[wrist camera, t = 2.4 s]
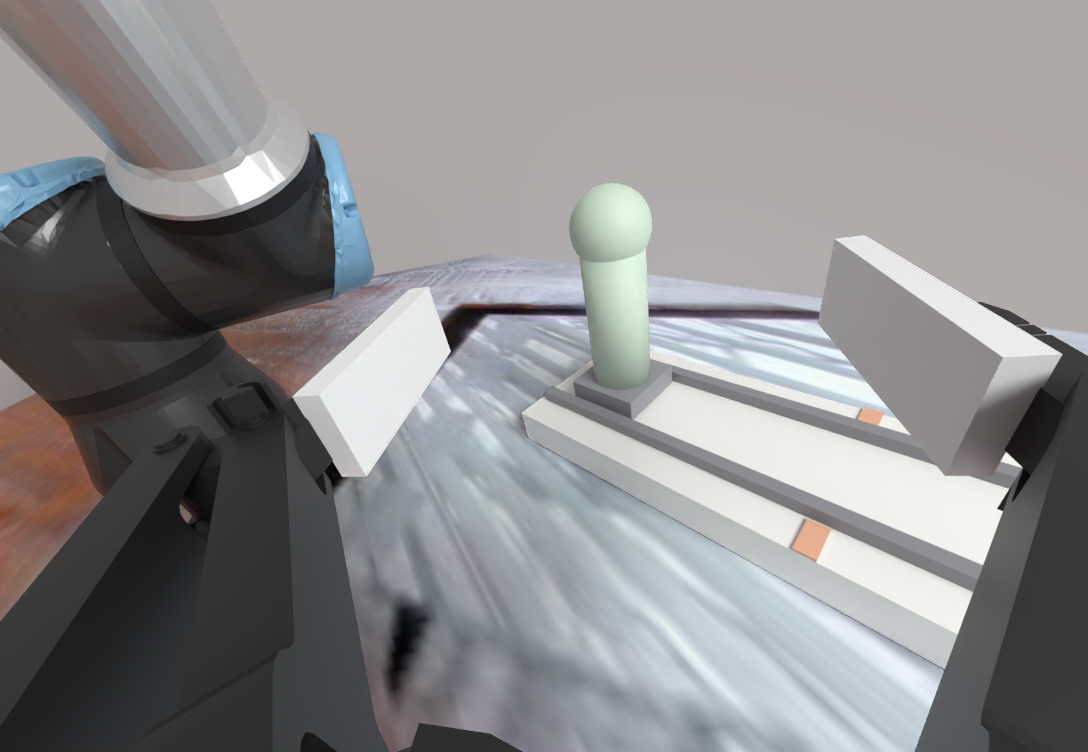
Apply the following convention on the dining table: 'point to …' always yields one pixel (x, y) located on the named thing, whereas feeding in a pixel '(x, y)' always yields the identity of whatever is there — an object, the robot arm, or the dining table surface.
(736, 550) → the fader console
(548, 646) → the dining table surface
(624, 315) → the fader knob
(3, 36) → the robot arm
